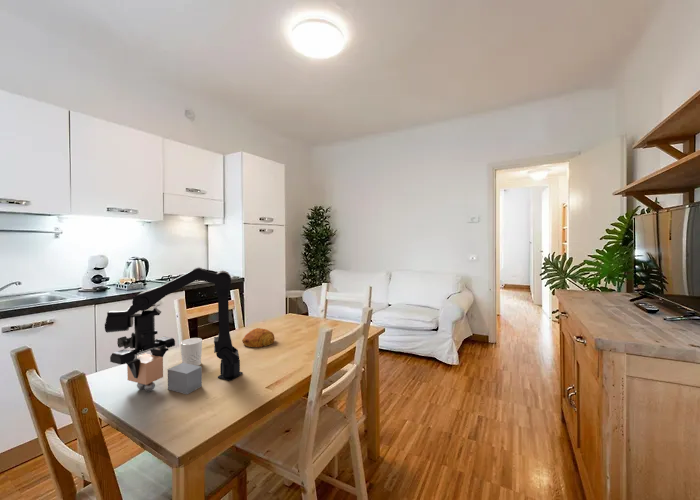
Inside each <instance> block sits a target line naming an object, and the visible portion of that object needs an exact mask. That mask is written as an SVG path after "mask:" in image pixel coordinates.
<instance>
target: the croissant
mask: <svg viewBox="0 0 700 500" xmlns="http://www.w3.org/2000/svg"><path fill="white" fill-rule="evenodd" d="M274 342H275V334H274V333H273V332H272V331H270V329H269V330H268V329H266V328H261V327H256V328H253V329H252V330H250V331H249V332H248V333H246V334H245V335H244V336H243V338H242V344H243V346H246V347H249V348H258V349H260V348H263V347H267V346H270V345H273V344H274Z"/></svg>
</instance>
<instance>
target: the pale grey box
mask: <svg viewBox="0 0 700 500" xmlns="http://www.w3.org/2000/svg"><path fill="white" fill-rule="evenodd" d="M202 367H203V366H200V365H199V366H196V365H191V364H187V363H182V362H181V363H179V364H177V365H175V366H172V367H170V368H168V369H167V390H170V391H173V392H176V393H181V394H184V395H189V394H191V393H192V392H195V391H196V390H198V389H199V388H201V387H203V377H202V376H203V368H202Z"/></svg>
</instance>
